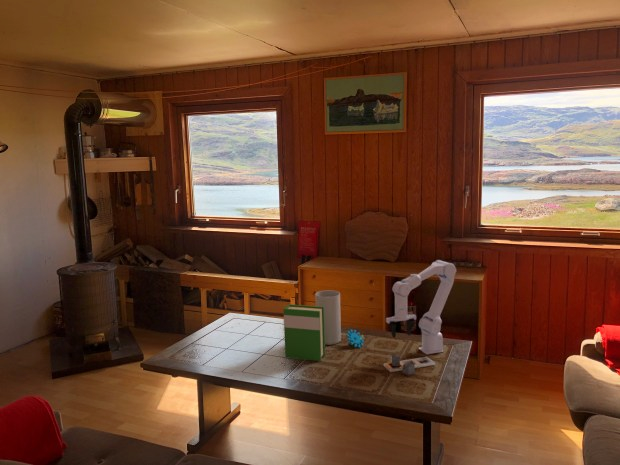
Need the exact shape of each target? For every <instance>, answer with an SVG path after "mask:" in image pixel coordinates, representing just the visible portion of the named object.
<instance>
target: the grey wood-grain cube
mask: <svg viewBox="0 0 620 465" xmlns="http://www.w3.org/2000/svg"><path fill="white" fill-rule="evenodd" d="M402 373H403V374H405V376H412V375H414V374H415V368H414V364H413V363H409V362H408V363H405V364H403V370H402Z"/></svg>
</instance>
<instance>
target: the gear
mask: <svg viewBox="0 0 620 465" xmlns="http://www.w3.org/2000/svg"><path fill="white" fill-rule="evenodd" d="M346 338H347V341H348V344H349V345H351V346H353V347H354V348H361V347H362V346H363V345H364V342H365V341H364V340H363V338H364V335H363V334H362V335H361V334H360V332H357V330H356V329H354V330H353V329H350V330H348V331H347V332H346Z"/></svg>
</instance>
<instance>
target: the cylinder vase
mask: <svg viewBox="0 0 620 465" xmlns="http://www.w3.org/2000/svg"><path fill="white" fill-rule="evenodd" d="M314 296H315V306H320V307H324V326H325V346H326V345H331V346H332V345H336V344H338V343H340V342H341V340H342V328H341V327H342V324H341V323H342V322H341V319H342V317H341V313H342V312H341V292H339V291H338V290H333V289H332V290H330V289H329V290H328V289H327V290H320V291H317V292H315V294H314Z"/></svg>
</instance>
